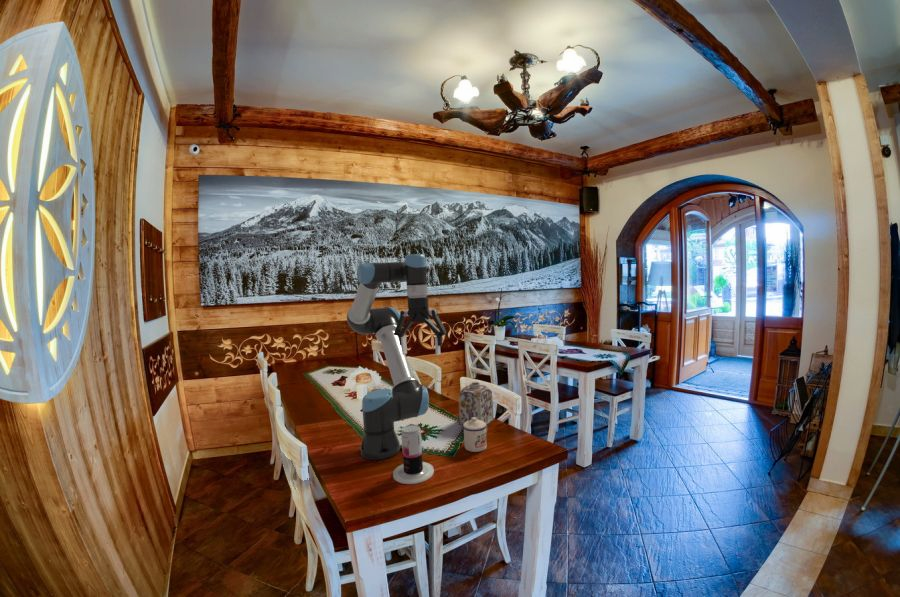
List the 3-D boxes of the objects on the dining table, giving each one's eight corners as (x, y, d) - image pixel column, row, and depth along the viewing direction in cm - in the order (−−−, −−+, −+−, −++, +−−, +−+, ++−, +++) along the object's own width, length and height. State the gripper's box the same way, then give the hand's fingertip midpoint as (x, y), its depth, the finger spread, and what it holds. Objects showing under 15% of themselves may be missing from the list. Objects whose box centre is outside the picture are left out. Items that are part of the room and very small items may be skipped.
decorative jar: (473, 415, 179) (471, 378, 178) (494, 420, 172) (492, 381, 171) (458, 424, 169) (456, 385, 168) (481, 429, 162) (478, 388, 161)
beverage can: (407, 477, 124) (404, 433, 123) (401, 469, 130) (398, 427, 129) (425, 472, 127) (423, 429, 126) (419, 464, 133) (416, 423, 132)
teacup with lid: (477, 454, 139) (476, 424, 138) (459, 448, 145) (457, 419, 144) (496, 443, 148) (494, 414, 147) (478, 437, 154) (476, 409, 153)
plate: (385, 480, 124) (385, 478, 124) (404, 460, 137) (404, 459, 137) (423, 486, 119) (423, 484, 119) (439, 465, 133) (439, 463, 133)
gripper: (382, 298, 137) (386, 355, 138) (445, 296, 129) (449, 357, 130) (392, 297, 144) (395, 351, 145) (453, 295, 136) (456, 352, 137)
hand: (421, 354), depth 138 cm, fingers open, 13 cm apart
